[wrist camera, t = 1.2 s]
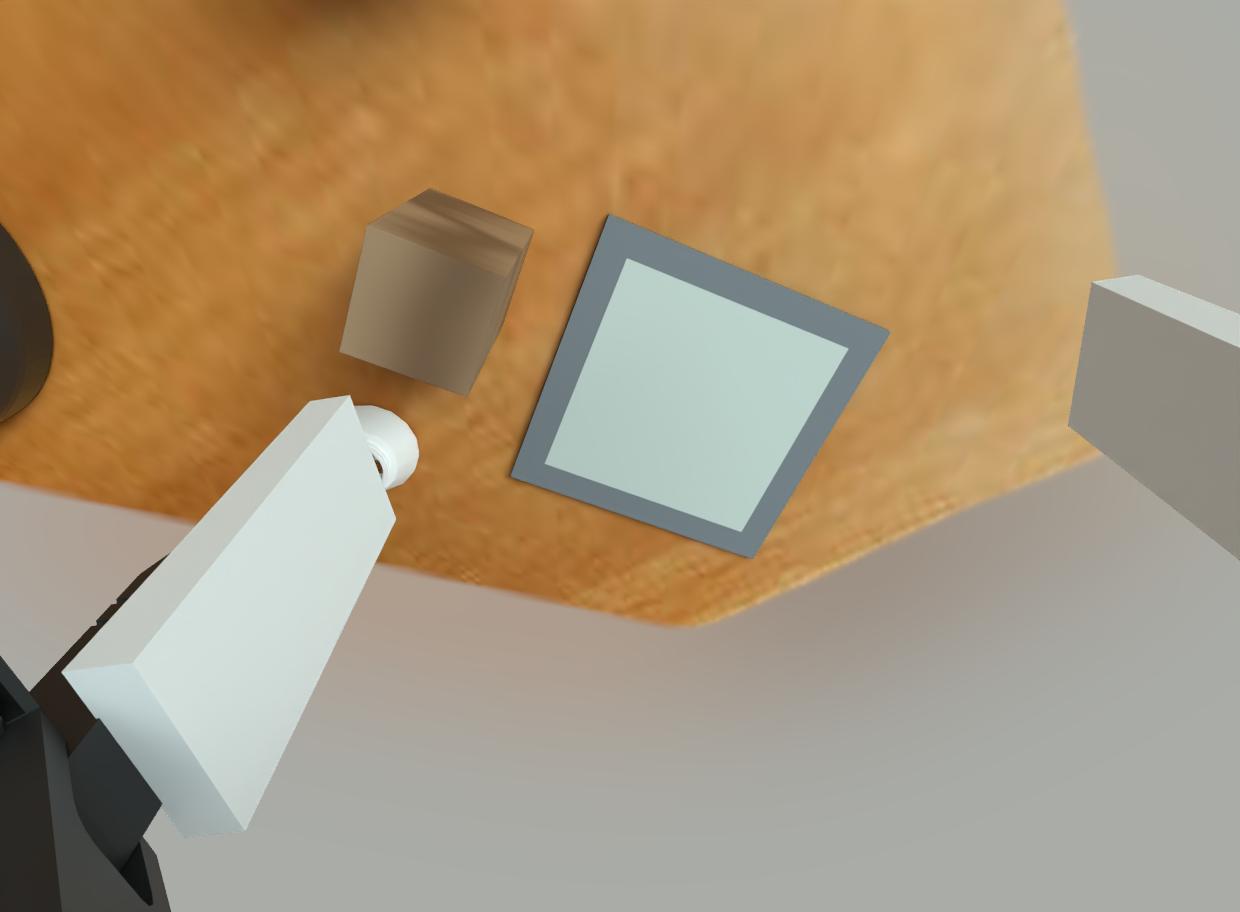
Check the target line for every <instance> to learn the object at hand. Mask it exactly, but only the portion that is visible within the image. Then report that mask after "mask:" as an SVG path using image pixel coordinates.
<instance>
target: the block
mask: <svg viewBox="0 0 1240 912" xmlns="http://www.w3.org/2000/svg"><path fill="white" fill-rule="evenodd" d="M533 232H534V229H531V228H529V227H526V226H524V225H521V224H519V223H516V222H514V221H511V220H509V219H507V218H504V217H502V216H499V215H497V214H494V213H492V212H489V211H487V210H484V209H482V208H479V207H477V206H474V205H472V204H470V203H467V202H465V201H462V200H460V199H457V198H455V197H452V196H450V195H447V194H445V193H442V192H440V191H437V190H435V189H433V188H430V189H428V190H426V191H424V192H423V193H421V194H419V195H418V196H416V197H414V198H412V199H411V200H409V201H407V202H406V203H404V204H402V205H400V206H399V207H397V208H395V209H394V210H392V211H390V212H388V213H387V214H385V215H383V216H382V217H380V218H378V219H376V220H375V221H373V222H371V223H370V224H368V225H367V229H366V233H365V238H364V242H363V247H362V251H361V256H360V260H359V265H358V269H357V274H356V278H355V283H354V288H353V292H352V297H351V301H350V306H349V310H348V315H347V319H346V324H345V328H344V333H343V337H342V342H341V346H340V351H339V352H341V353H344V354H347V355H349V356H352V357H355V358H358V359H361V360H363V361H366V362H369V363H372V364H375V365H378V366H380V367H383V368H386V369H389V370H392V371H394V372H397V373H400V374H403V375H406V376H408V377H411V378H414V379H417V380H420V381H422V382H425V383H428V384H431V385H434V386H436V387H439V388H442V389H445V390H448V391H450V392H453V393H456V394H459V395H462V396H464V397H467V396H468V394H469V392H470V390H471V388H472V386H473V384H474V382H475V380H476V378H477V376H478V374H479V372H480V370H481V368H482V366H483V364H484V362H485V360H486V358H487V356H488V354H489V352H490V350H491V348H492V346H493V344H494V342H495V340H496V338H497V336H498V334H499V332H500V329H501V327H502V325H503V323H504V320H505V317H506V314H507V311H508V308H509V304H510V301H511V298H512V295H513V292H514V289H515V286H516V283H517V280H518V277H519V274H520V271H521V268H522V265H523V262H524V259H525V256H526V253H527V250H528V247H529V244H530V241H531V238H532V235H533Z"/></svg>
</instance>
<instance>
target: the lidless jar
mask: <svg viewBox="0 0 1240 912" xmlns="http://www.w3.org/2000/svg"><path fill="white" fill-rule="evenodd" d="M354 408H355V410H356V413H357V416H358V418H359V421H360V424H361V426H362V429H363V432H364V434H365V437H366V440H367V442H368V445H369V448H370V450H371V453H372V456H373V459H374V461H379V462H380V464H381V466H382V469H383V473H379V475H380V477H381V480H382V483H383V485H384V488H385V490H389V489H391V488H393V487H396V486H398V485H401V484H403V483H404V482H405V481H406V480H407V479H408V478H409V477H410V476H411V475H412V473H413V472H414V471H415V469H416V465H417V461H418V458H419V449H418V444H417V439H416V437H415V435H414V434H413V432H412V431H411V429H410V428H409V426H408V425H407V423H406V422H404V421H403V420H402V419H400V418H399V417H398V416H396V415H395V414H394V413H392V412H391V411H388V410H385V409H382V408H379V407H376V406H373V405H366V406H354Z"/></svg>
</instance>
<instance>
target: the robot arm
mask: <svg viewBox="0 0 1240 912" xmlns="http://www.w3.org/2000/svg"><path fill="white" fill-rule="evenodd" d="M51 356H52V331H51V323H50V318H49V313H48V310H47V306H46V302H45V300H44V297H43V294H42V291H41V289H40V286H39V284H38V282H37V279H36V277H35V275H34V274H33V272H32V270H31V268H30V266H29V264H28V262H27V261H26V259H25V257H24V256H23V254H22V253H21V251H20V249H19V248H18V246H17V245H16V244H15V242H14V241H13V239H12V238H11V237H10V235H9V234H8V233H7V231H6V230H5V229H4V228H3V227H2V225H1V224H0V422H2V421H4V420H5V419H7V418H9V417H11V416H12V415H14V414H16V413H17V412H19V411H20V410H22V409H23V408H24V407H25V406H27V405H28V404H29V403H30V402H31V401H32V400H33V398H34V397H35V396H36V395H37V393H38V392H39V390H40V389H41V387H42V385H43V383H44V381H45V379H46V376H47V374H48V370H49V367H50V362H51ZM1068 426H1069V427H1071V428H1072V429H1073V430H1074V431H1076V432H1077V433H1078V434H1079V435H1081V436H1082V437H1083V438H1085V439H1086V440H1087V441H1088V442H1090V443H1091V444H1092V445H1093V446H1095V447H1096V448H1097V449H1099V450H1100V451H1101V452H1102V453H1104V454H1105V455H1106V456H1107V457H1109V458H1110V459H1111V460H1113V461H1114V462H1115V463H1116V464H1118V465H1119V466H1120V467H1121V468H1123V469H1124V470H1125V471H1127V472H1128V473H1129V474H1130V475H1132V476H1133V477H1134V478H1135V479H1137V480H1138V481H1139V482H1141V483H1142V484H1143V485H1144V486H1146V487H1147V488H1148V489H1150V490H1151V491H1152V492H1153V493H1155V494H1156V495H1157V496H1158V497H1160V498H1161V499H1162V500H1164V501H1165V502H1166V503H1167V504H1169V505H1170V506H1171V507H1172V508H1174V509H1175V510H1176V511H1178V512H1179V513H1180V514H1181V515H1183V516H1184V517H1186V519H1188V520H1189V521H1190V522H1192V523H1193V524H1194V525H1196V526H1197V527H1198V528H1199V529H1200V530H1202V531H1203V532H1204V533H1206V534H1207V535H1208V536H1209V537H1211V538H1212V539H1214V541H1216V542H1217V543H1218V544H1220V545H1221V546H1222V547H1223V548H1225V549H1226V550H1227V551H1229V552H1230V553H1231V554H1232V555H1234V556H1235V557H1236V558H1237V559H1239V560H1240V314H1237V313H1235V312H1232V311H1229V310H1227V309H1224V308H1222V307H1219V306H1217V305H1214V304H1212V303H1209V302H1206V301H1204V300H1201V299H1199V298H1196V297H1194V296H1191V295H1189V294H1186V293H1184V292H1181V291H1178V290H1176V289H1173V288H1171V287H1168V286H1166V285H1163V284H1161V283H1158V282H1155V281H1153V280H1150V279H1148V278H1145V277H1143V276H1140V275H1134V276H1128V277H1121V278H1114V279H1108V280H1101V281H1095V282H1092V283H1091V289H1090V295H1089V301H1088V308H1087V314H1086V320H1085V326H1084V332H1083V338H1082V344H1081V350H1080V356H1079V362H1078V368H1077V374H1076V380H1075V387H1074V393H1073V399H1072V405H1071V411H1070V417H1069V423H1068ZM395 521H396V517H395V515H394V512H393V509H392V507H391V504H390V501H389V499H388V496H387V493H386V491H385V488H384V485H383V483H382V480H381V477H380V475H379V472H378V469H377V467H376V464H375V461H374V459H373V456H372V453H371V450H370V448H369V445H368V442H367V440H366V437H365V434H364V432H363V429H362V426H361V424H360V421H359V418H358V416H357V413H356V410H355V408H354V405H353V402H352V400H351V397H350V395H347V396H341V397H334V398H328V399H321V400H315V401H309V403H308V404H307V405H306V406H305V407H304V408H303V409H302V410H301V411H300V412H299V413H298V415H297V416H296V417H295V418H294V419H293V420H292V421H291V422H290V423H289V424H288V425H287V427H286V428H285V429H284V430H283V431H282V432H281V433H280V434H279V435H278V436H277V437H276V439H275V440H274V441H273V442H272V443H271V444H270V445H269V446H268V447H267V448H266V449H265V451H264V452H263V453H262V454H261V455H260V456H259V457H258V458H257V459H256V460H255V461H254V463H253V464H252V465H251V466H250V467H249V468H248V469H247V470H246V471H245V472H244V473H243V475H242V476H241V477H240V478H239V479H238V480H237V481H236V482H235V483H234V484H233V485H232V487H231V488H230V489H229V490H228V491H227V492H226V493H225V494H224V495H223V496H222V497H221V499H220V500H219V501H218V502H217V503H216V504H215V505H214V506H213V507H212V508H211V509H210V511H209V512H208V513H207V514H206V515H205V516H204V517H203V518H202V519H201V520H200V521H199V523H198V524H197V525H196V526H195V527H194V528H193V529H192V530H191V531H190V532H189V533H188V535H187V536H186V537H185V538H184V539H183V540H182V541H181V542H180V543H179V544H178V545H177V547H176V548H175V549H174V550H173V551H172V552H171V553H169V554H168V555H166V556H165V557H164V558H162V559H161V560H159V561H158V562H156V563H155V564H154V565H152V566H151V567H149V568H148V569H147V570H145V571H144V572H142V573H141V574H140V575H139V576H138V577H137V578H136V579H135V580H134V581H133V582H132V583H131V584H130V585H129V586H128V588H127V589H126V590H125V591H124V592H123V593H122V594H121V595H120V596H119V597H118V598H117V604H113V605H111V606H110V607H109V608H108V609H107V610H106V611H105V612H104V613H103V614H102V615H101V616H100V617H99V619H97V620H96V622H97V625H96V626H91V627H90V628H89V629H88V630H87V631H86V632H85V633H84V634H83V635H82V636H81V638H80V639H79V640H78V641H77V642H76V643H75V644H74V645H73V646H72V647H71V648H70V649H69V650H68V651H67V652H66V654H65V655H64V656H63V657H62V658H61V659H60V660H59V661H58V662H57V663H56V664H55V665H54V666H53V667H52V668H51V669H50V671H49V672H48V673H47V674H46V675H45V676H44V677H43V678H42V679H41V680H40V681H39V682H38V683H37V684H36V686H34V688H33V689H32V690H31V691H30V692H28V690H27V689H26V688H25V687H24V685H23V684H22V683H21V681H20V680H19V679H18V678H17V676H16V675H15V674H14V672H13V671H12V670H11V669H10V667H9V666H8V665H7V664H6V662H5V661H4V660H3V659H2V657H1V656H0V912H171V910H170V906H169V902H168V898H167V894H166V890H165V887H164V883H163V878H162V875H161V871H160V867H159V863H158V859H157V855H156V854H155V852H154V851H153V850H152V848H151V847H150V846H149V845H148V843H147V842H146V840H145V839H144V838H143V837H142V836H143V834H144V833H145V831H146V830H147V828H148V827H149V825H150V823H151V821H152V820H153V818H154V817H155V815H156V813H157V812H158V810H159V809H160V807H162V808H163V810H164V811H165V813H166V814H167V815H168V817H169V818H170V819H171V821H172V822H173V823H174V825H175V826H176V828H177V829H178V830H179V832H180V833H181V834H182V836H183V837H184V838H187V837H196V836H206V835H214V834H224V833H232V832H242V831H245V830H246V828H247V826H248V824H249V822H250V820H251V818H252V816H253V813H254V812H255V810H256V807H257V805H258V803H259V801H260V799H261V797H262V795H263V793H264V791H265V789H266V787H267V785H268V783H269V780H270V779H271V776H272V774H273V772H274V770H275V768H276V766H277V764H278V762H279V760H280V758H281V756H282V754H283V752H284V750H285V748H286V746H287V743H288V741H289V739H290V737H291V735H292V733H293V731H294V729H295V727H296V725H297V723H298V721H299V719H300V717H301V714H302V712H303V710H304V708H305V706H306V704H307V702H308V700H309V698H310V696H311V694H312V692H313V690H314V688H315V686H316V684H317V682H318V679H319V677H320V675H321V673H322V671H323V669H324V667H325V665H326V663H327V661H328V659H329V657H330V655H331V653H332V651H333V649H334V646H335V644H336V642H337V640H338V638H339V636H340V634H341V632H342V630H343V628H344V626H345V624H346V622H347V620H348V618H349V615H350V613H351V611H352V609H353V607H354V605H355V603H356V601H357V599H358V597H359V595H360V593H361V591H362V588H363V586H364V585H365V582H366V580H367V578H368V576H369V574H370V572H371V570H372V568H373V566H374V564H375V562H376V560H377V558H378V556H379V554H380V552H381V549H382V547H383V545H384V543H385V541H386V539H387V537H388V535H389V533H390V531H391V529H392V527H393V525H394V523H395Z"/></svg>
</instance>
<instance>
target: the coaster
mask: <svg viewBox="0 0 1240 912" xmlns="http://www.w3.org/2000/svg"><path fill="white" fill-rule="evenodd" d="M889 334H890V332H889V331H888V330H887V329H884V328H882V327H879V326H877V325H875V324H872V323H870V322H867V321H865V320H863V319H860V318H858V317H855V316H853V315H851V314H848V313H846V312H843V311H841V310H839V309H836V308H834V307H831V306H829V305H827V304H824V303H822V302H820V301H817V300H815V299H812V298H810V297H808V296H805V295H803V294H800V293H798V292H796V291H793V290H791V289H788V288H786V287H784V286H781V285H779V284H776V283H774V282H772V281H769V280H767V279H764V278H762V277H760V276H757V275H755V274H752V273H750V272H748V271H745V270H743V269H741V268H738V267H736V266H733V265H731V264H729V263H726V262H724V261H721V260H719V259H717V258H714V257H712V256H709V255H707V254H705V253H702V252H700V251H697V250H695V249H693V248H690V247H688V246H685V245H683V244H681V243H678V242H676V241H673V240H671V239H669V238H666V237H664V236H661V235H659V234H657V233H654V232H652V231H650V230H647V229H645V228H642V227H640V226H638V225H635V224H633V223H630V222H628V221H626V220H623V219H621V218H618V217H616V216H614V215H611V214H609V215H608V218H607V220H606V223H605V226H604V228H603V231H602V234H601V236H600V239H599V242H598V244H597V247H596V250H595V252H594V255H593V258H592V260H591V263H590V266H589V268H588V271H587V274H586V276H585V279H584V281H583V284H582V287H581V289H580V292H579V295H578V297H577V300H576V303H575V305H574V308H573V311H572V313H571V316H570V319H569V321H568V324H567V327H566V329H565V332H564V335H563V337H562V340H561V343H560V345H559V348H558V350H557V353H556V356H555V358H554V361H553V364H552V366H551V369H550V372H549V374H548V377H547V380H546V382H545V385H544V388H543V390H542V393H541V396H540V398H539V401H538V404H537V406H536V409H535V412H534V414H533V417H532V419H531V422H530V425H529V427H528V430H527V433H526V435H525V438H524V441H523V443H522V446H521V449H520V451H519V454H518V457H517V459H516V462H515V465H514V467H513V470H512V473H511V476H510V477H513V478H516V479H519V480H522V481H525V482H528V483H530V484H533V485H536V486H539V487H542V488H545V489H548V490H551V491H554V492H557V493H560V494H563V495H566V496H569V497H572V498H574V499H577V500H580V501H583V502H586V503H589V504H592V505H595V506H598V507H601V508H604V509H607V510H610V511H613V512H616V513H618V514H621V515H624V516H627V517H630V518H633V519H636V520H639V521H642V522H645V523H648V524H651V525H654V526H657V527H660V528H663V529H665V530H668V531H671V532H674V533H677V534H680V535H683V536H686V537H689V538H692V539H695V540H698V541H701V542H704V543H707V544H709V545H712V546H715V547H718V548H721V549H724V550H727V551H730V552H733V553H736V554H739V555H742V556H745V557H748V558H751V559H753V558H754V556H755V555H756V553H757V551H758V550H759V548H760V546H761V545H762V543H763V542H764V540H765V538H766V537H767V535H768V533H769V532H770V530H771V528H772V527H773V525H774V523H775V522H776V520H777V519H778V517H779V515H780V514H781V512H782V510H783V509H784V507H785V505H786V504H787V502H788V500H789V499H790V497H791V496H792V494H793V492H794V491H795V489H796V487H797V486H798V484H799V482H800V481H801V479H802V477H803V476H804V474H805V472H806V471H807V469H808V468H809V466H810V464H811V463H812V461H813V459H814V458H815V456H816V454H817V453H818V451H819V449H820V448H821V446H822V445H823V443H824V441H825V440H826V438H827V436H828V435H829V433H830V431H831V430H832V428H833V426H834V425H835V423H836V421H837V420H838V418H839V417H840V415H841V413H842V412H843V410H844V408H845V407H846V405H847V403H848V402H849V400H850V398H851V397H852V395H853V394H854V392H855V390H856V389H857V387H858V385H859V384H860V382H861V380H862V379H863V377H864V375H865V374H866V372H867V370H868V369H869V367H870V366H871V364H872V362H873V361H874V359H875V357H876V356H877V354H878V352H879V351H880V349H881V347H882V346H883V344H884V343H885V341H886V339H887V338H888V336H889Z"/></svg>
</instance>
